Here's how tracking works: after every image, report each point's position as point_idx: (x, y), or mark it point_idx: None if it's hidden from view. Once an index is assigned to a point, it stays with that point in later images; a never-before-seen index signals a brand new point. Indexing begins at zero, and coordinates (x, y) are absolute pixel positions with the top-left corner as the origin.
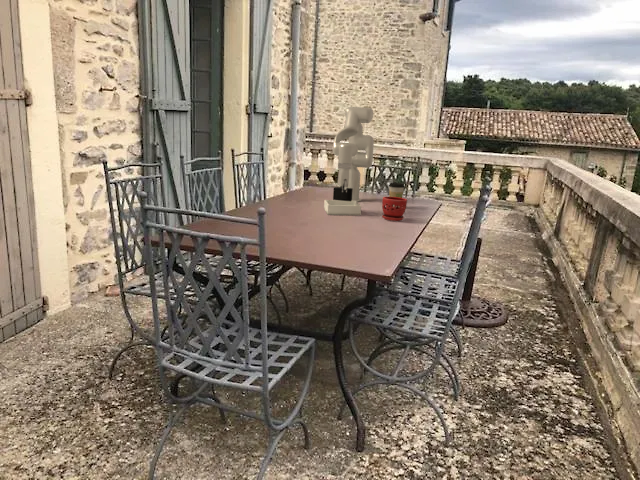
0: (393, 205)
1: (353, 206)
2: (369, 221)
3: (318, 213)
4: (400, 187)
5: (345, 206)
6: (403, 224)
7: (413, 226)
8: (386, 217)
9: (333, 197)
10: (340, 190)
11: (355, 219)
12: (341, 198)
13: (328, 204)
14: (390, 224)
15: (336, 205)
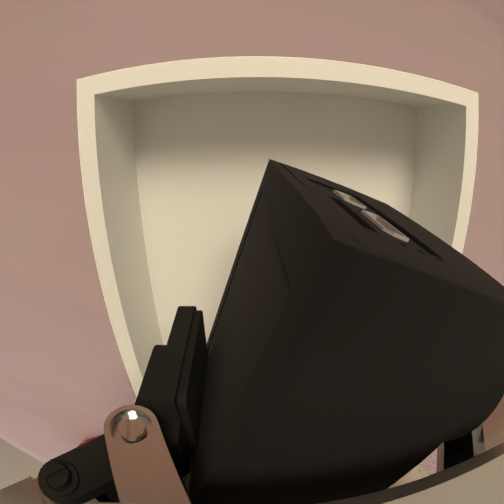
0: (397, 483)
1: (129, 371)
2: (28, 365)
3: (191, 6)
4: None
5: (109, 299)
6: (56, 449)
7: (46, 457)
8: (80, 444)
9: (272, 172)
10: (222, 415)
11: (34, 307)
12: (178, 314)
13: (127, 79)
14: (27, 416)
15: (84, 193)
